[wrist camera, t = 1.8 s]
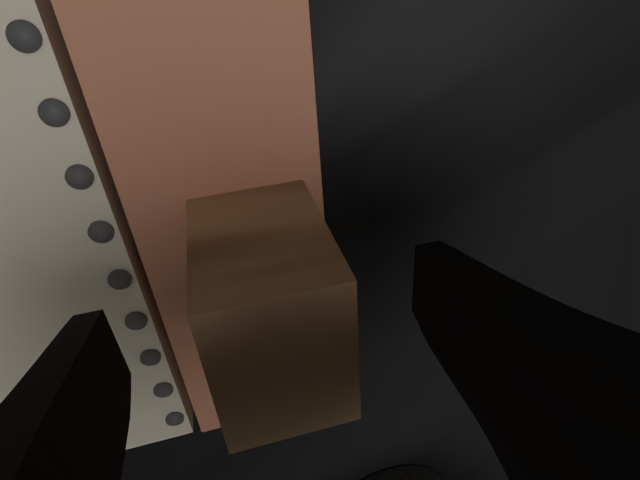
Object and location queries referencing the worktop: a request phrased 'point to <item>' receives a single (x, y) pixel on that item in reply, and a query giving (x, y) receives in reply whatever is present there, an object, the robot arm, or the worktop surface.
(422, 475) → the coffee cup
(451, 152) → the worktop surface
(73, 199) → the pad
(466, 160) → the worktop surface
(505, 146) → the worktop surface
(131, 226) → the stub
